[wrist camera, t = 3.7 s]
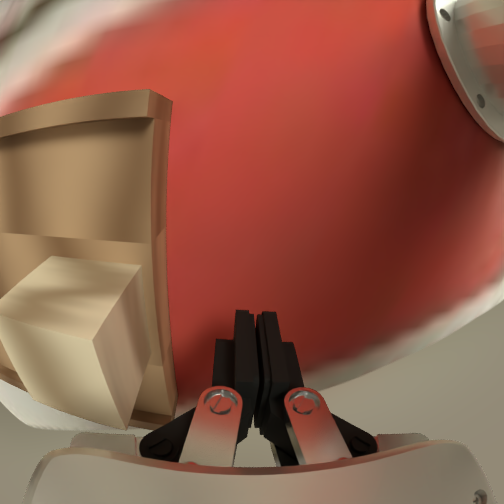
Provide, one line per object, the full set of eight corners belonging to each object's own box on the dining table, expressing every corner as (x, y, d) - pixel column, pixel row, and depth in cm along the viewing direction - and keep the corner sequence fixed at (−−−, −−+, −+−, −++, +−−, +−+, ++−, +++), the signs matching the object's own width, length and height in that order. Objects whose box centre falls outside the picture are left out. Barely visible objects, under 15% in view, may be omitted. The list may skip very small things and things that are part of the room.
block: (141, 265, 11) (92, 340, 7) (151, 352, 13) (126, 430, 8) (51, 255, 11) (-12, 310, 6) (72, 336, 13) (33, 399, 8)
